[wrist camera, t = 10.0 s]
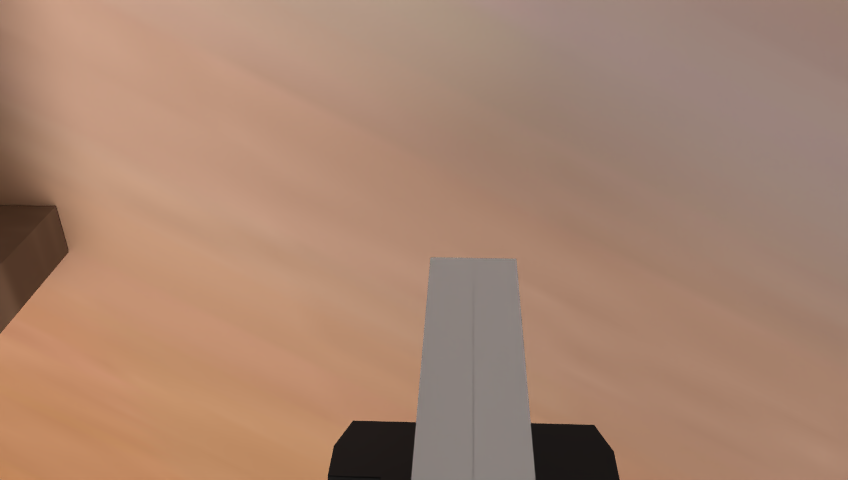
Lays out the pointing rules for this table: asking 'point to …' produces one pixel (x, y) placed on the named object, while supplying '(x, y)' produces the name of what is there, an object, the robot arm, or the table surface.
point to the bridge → (27, 254)
